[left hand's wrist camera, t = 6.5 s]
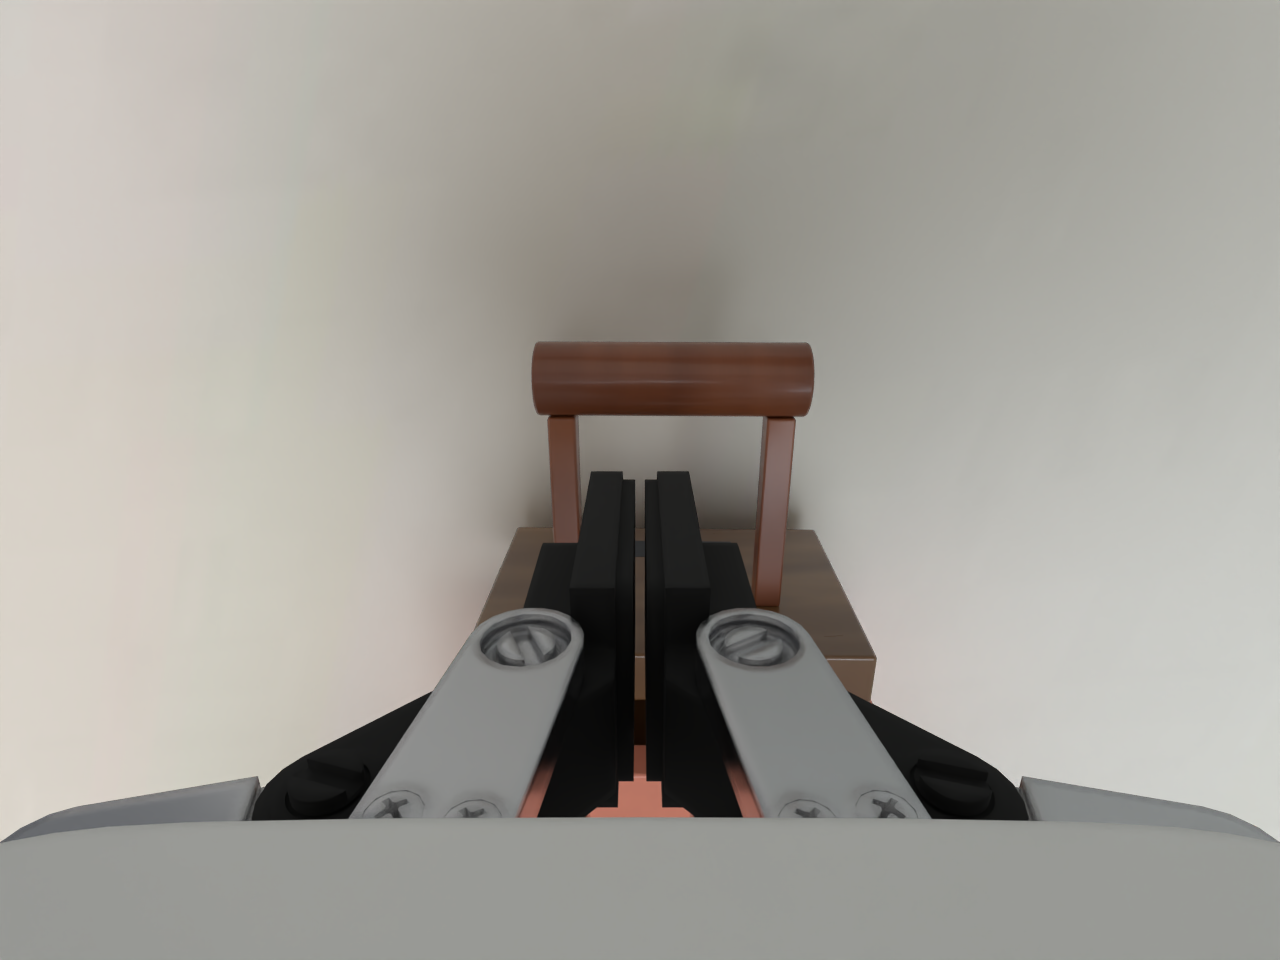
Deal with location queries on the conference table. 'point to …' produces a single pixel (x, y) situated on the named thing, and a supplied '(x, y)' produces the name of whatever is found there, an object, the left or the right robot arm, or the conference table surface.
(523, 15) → the conference table surface
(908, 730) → the left robot arm
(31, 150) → the conference table surface
